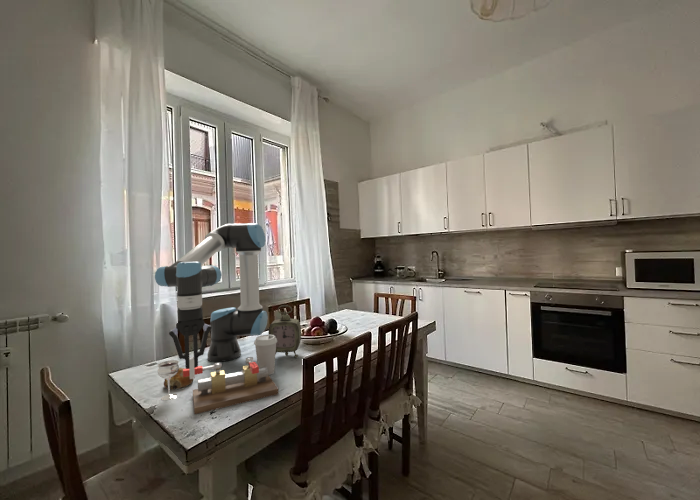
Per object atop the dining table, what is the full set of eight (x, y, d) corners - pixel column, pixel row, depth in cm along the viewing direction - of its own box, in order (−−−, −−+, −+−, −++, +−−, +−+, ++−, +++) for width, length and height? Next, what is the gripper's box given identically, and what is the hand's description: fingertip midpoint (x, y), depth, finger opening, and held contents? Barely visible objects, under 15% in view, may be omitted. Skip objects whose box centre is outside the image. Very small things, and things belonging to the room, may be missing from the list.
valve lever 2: (245, 362, 118) (245, 357, 118) (252, 361, 119) (252, 356, 119) (251, 374, 107) (251, 368, 107) (259, 372, 108) (259, 366, 108)
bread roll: (194, 393, 123) (202, 371, 126) (170, 391, 115) (179, 368, 118) (179, 387, 128) (187, 367, 131) (155, 385, 120) (164, 364, 123)
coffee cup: (271, 378, 127) (271, 341, 127) (250, 376, 129) (249, 340, 128) (281, 368, 136) (281, 334, 136) (261, 367, 138) (260, 333, 138)
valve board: (192, 395, 113) (192, 389, 113) (268, 379, 126) (268, 374, 126) (194, 414, 100) (194, 408, 100) (278, 394, 112) (278, 388, 112)
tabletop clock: (268, 360, 147) (267, 307, 147) (273, 353, 156) (272, 303, 156) (299, 359, 147) (298, 306, 147) (302, 353, 156) (301, 303, 156)
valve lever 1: (221, 367, 114) (221, 361, 114) (222, 369, 112) (222, 364, 112) (182, 374, 108) (182, 369, 108) (183, 377, 105) (183, 371, 105)
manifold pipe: (197, 391, 111) (197, 370, 111) (265, 377, 123) (265, 358, 122) (198, 397, 107) (197, 375, 107) (268, 381, 119) (268, 361, 119)
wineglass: (154, 398, 111) (153, 364, 111) (173, 391, 117) (173, 358, 117) (164, 403, 107) (163, 368, 107) (183, 395, 113) (182, 362, 113)
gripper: (167, 311, 99) (169, 386, 99) (212, 307, 105) (214, 377, 105) (168, 308, 106) (170, 377, 106) (210, 303, 112) (212, 369, 112)
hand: (192, 377), depth 106 cm, fingers closed
